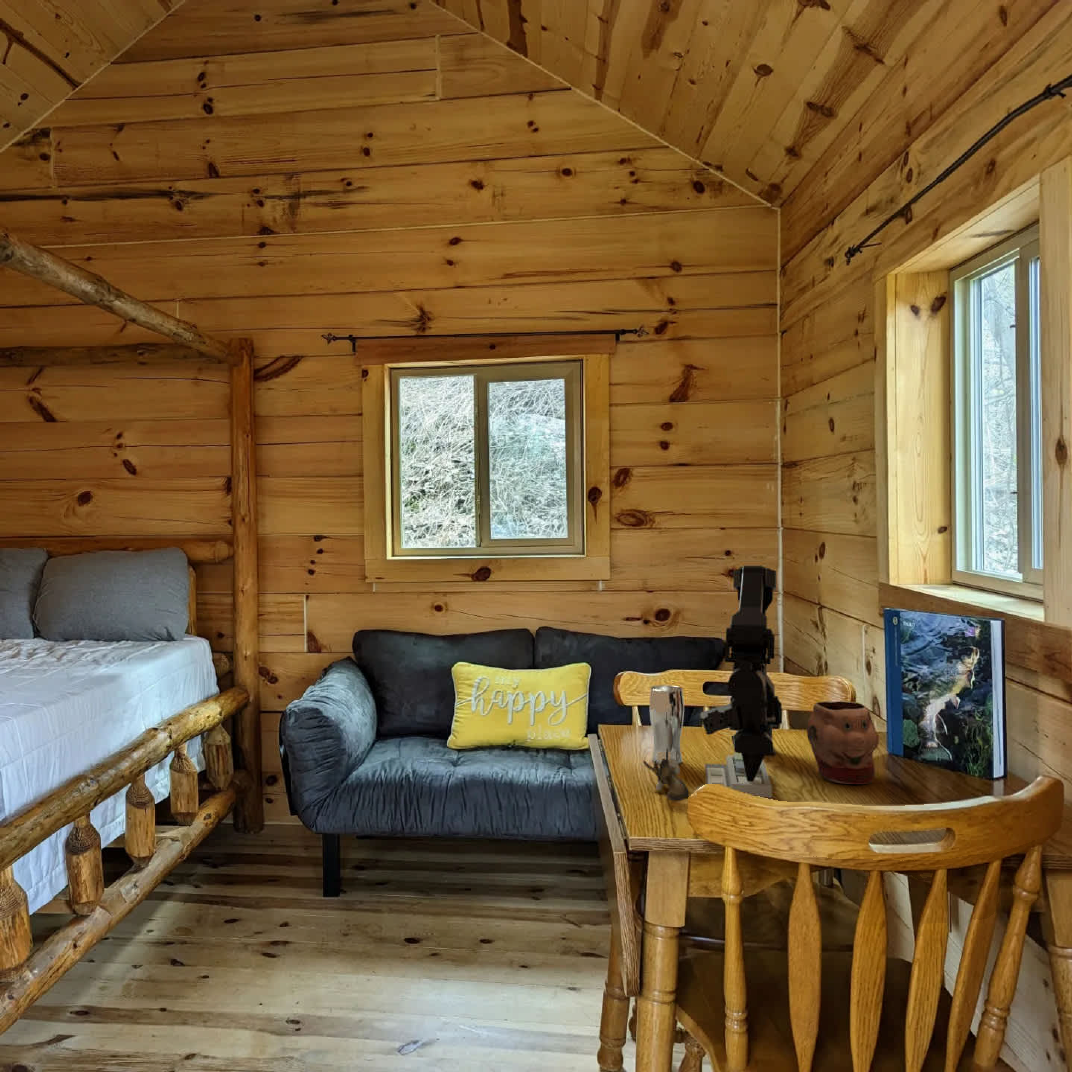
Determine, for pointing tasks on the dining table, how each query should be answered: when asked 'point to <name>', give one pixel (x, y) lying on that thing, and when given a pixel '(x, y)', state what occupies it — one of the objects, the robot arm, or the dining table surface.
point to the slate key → (742, 767)
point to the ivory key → (744, 780)
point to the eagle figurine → (669, 779)
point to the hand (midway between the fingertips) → (750, 780)
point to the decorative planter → (843, 741)
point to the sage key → (738, 757)
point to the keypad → (730, 778)
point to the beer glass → (666, 721)
